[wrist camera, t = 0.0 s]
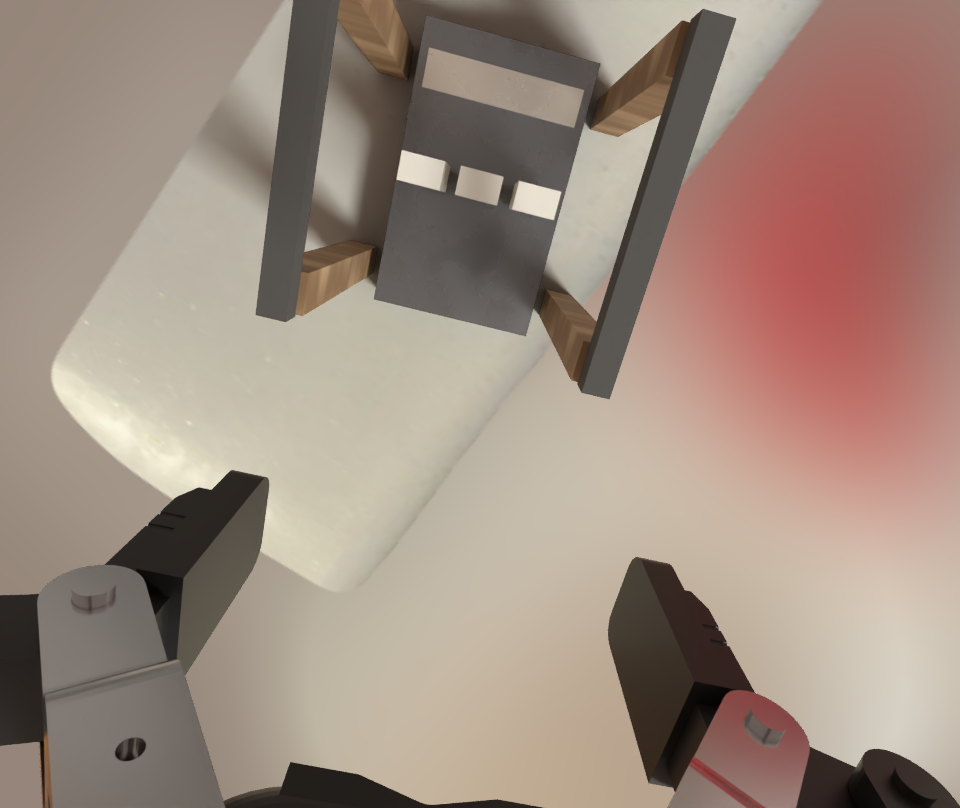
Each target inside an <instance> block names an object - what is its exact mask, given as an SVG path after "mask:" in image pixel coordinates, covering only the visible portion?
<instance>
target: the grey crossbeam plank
mask: <svg viewBox="0 0 960 808" xmlns="http://www.w3.org/2000/svg"><path fill="white" fill-rule="evenodd" d="M339 3H340V0H293V7H292V16H291V24H290V32H289V41H288V49H287V57H286V66H285V74H284V82H283V91H282V99H281V107H280V116H279V124H278V132H277V141H276V149H275V158H274V166H273V174H272V183H271V191H270V199H269V208H268V216H267V224H266V233H265V241H264V249H263V258H262V266H261V274H260V283H259V291H258V299H257V308H256V315H258V316H262V317H266V318H271V319H275V320H279V321H283V322H287V321H288V320H290V319H292V318H293V317H295V313H296V306H297V299H298V292H299V285H300V278H301V271H302V264H303V256H304V249H305V242H306V235H307V228H308V221H309V214H310V207H311V200H312V193H313V186H314V179H315V172H316V165H317V158H318V151H319V144H320V137H321V130H322V123H323V116H324V109H325V102H326V95H327V88H328V81H329V74H330V66H331V59H332V52H333V45H334V38H335V31H336V24H337V17H338V10H339Z"/></svg>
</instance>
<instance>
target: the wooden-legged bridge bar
mask: <svg viewBox="0 0 960 808" xmlns="http://www.w3.org/2000/svg"><path fill="white" fill-rule="evenodd" d="M735 21H736V18H733V17H729V16H726V15H722V14H719V13H716V12H712V11H709V10H705V9H702V10H701V11H700V12H699V13H698V14H697V15H696V16H695V17H693V18H692V19H691V22H690V25H689V28H688V31H687V34H686V38H685V41H684V44H683V47H682V50H681V54H680V57H679V60H678V63H677V66H676V70H675V73H674V76H673V79H672V82H671V86H670V89H669V92H668V95H667V98H666V102H665V105H664V108H663V111H662V114H661V118H660V121H659V124H658V127H657V130H656V134H655V137H654V140H653V143H652V147H651V150H650V153H649V156H648V159H647V163H646V166H645V169H644V172H643V175H642V179H641V182H640V185H639V188H638V191H637V195H636V198H635V201H634V204H633V207H632V211H631V214H630V217H629V220H628V223H627V227H626V230H625V233H624V236H623V239H622V243H621V246H620V249H619V252H618V255H617V259H616V262H615V265H614V268H613V272H612V275H611V278H610V281H609V285H608V288H607V291H606V294H605V297H604V300H603V304H602V307H601V310H600V313H599V316H598V320H597V323H596V326H595V329H594V332H593V336H592V339H591V342H590V345H589V348H588V352H587V355H586V358H585V361H584V364H583V368H582V371H581V374H580V377H579V380H578V386H579V388H580V390H581V392H582V393H585V394H590V395H594V396H598V397H602V398H607V399H610V396H611V393H612V390H613V387H614V384H615V381H616V378H617V375H618V372H619V369H620V366H621V363H622V360H623V357H624V354H625V351H626V348H627V345H628V342H629V339H630V336H631V333H632V330H633V327H634V324H635V321H636V318H637V315H638V312H639V309H640V306H641V303H642V300H643V297H644V294H645V291H646V288H647V285H648V282H649V279H650V276H651V273H652V270H653V267H654V264H655V261H656V258H657V255H658V252H659V249H660V246H661V243H662V240H663V237H664V234H665V231H666V228H667V225H668V222H669V219H670V216H671V213H672V210H673V207H674V204H675V201H676V198H677V195H678V192H679V189H680V186H681V183H682V180H683V177H684V174H685V171H686V168H687V165H688V162H689V159H690V156H691V153H692V150H693V147H694V144H695V141H696V138H697V135H698V132H699V129H700V126H701V123H702V120H703V117H704V114H705V111H706V108H707V105H708V102H709V99H710V96H711V93H712V90H713V87H714V84H715V81H716V78H717V75H718V72H719V69H720V66H721V63H722V60H723V57H724V54H725V51H726V48H727V45H728V42H729V39H730V36H731V33H732V30H733V27H734V24H735Z"/></svg>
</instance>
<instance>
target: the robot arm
mask: <svg viewBox="0 0 960 808" xmlns="http://www.w3.org/2000/svg"><path fill="white" fill-rule="evenodd" d="M268 491H269V480H268V478H267V477H262V476H258V475H253V474H248V473H244V472H239V471H234V470H231V471H230V472H229V473H228V474H227V475H226V476H225V477H224V478H223V479H222V480H221V481H220V482H219V483H218V484H217V485H216V486H215V487H214V488H213V489H212V490H208V489H204V488H196V489H194V490H192V491H189V492H187V493H185V494H183V495H180V496H178V497H176V498H175V499H174V500H173V501H172V502H170V504H168V505H167V506H166V507H165V508H164V509H163V510H162V511H161V513H160V515H159V514H158V515H157V516H156V517H155V518H154V519H152V520H151V522H149V524H148V526H145V527H144V528H143V529H142V530H141V531H140V532H139V533H138V534H137V535H136V536H134V538H132V540H130V541H129V542H128V543H127V544H126V545H125V546H124V547H123V548H122V549H121V550H120V551H119V552H118V553H117V554H115V555H114V556H113V557H112V558H111V559H110V560H109V561H108V562H107V563H106V564H105V565H95V566H87V567H82V568H78V569H75V570H72V571H69V572H67V573H65V574H62V575H60V576H58V577H57V578H55V579H53V580H52V581H51V582H49V583H48V584H47V585H46V586H45V587H44V588H43V589H42V591H41V592H40V594H30V595H0V746H2V745H11V744H21V743H30V742H39V756H40V775H41V794H42V808H542V807H536V806H530V805H525V804H519V803H514V802H508V801H502V800H486V801H475V802H463V803H452V804H440V805H427V804H423V803H420V802H418V801H416V800H413V799H411V798H409V797H407V796H404V795H402V794H400V793H398V792H396V791H394V790H391V789H389V788H387V787H385V786H383V785H381V784H378V783H376V782H374V781H372V780H369V779H367V778H365V777H363V776H361V775H358V774H353V773H347V772H342V771H336V770H330V769H325V768H320V767H314V766H308V765H303V764H297V763H292V762H290V765H289V768H288V770H287V773H286V776H285V779H284V782H283V785H282V787H272V788H265V789H260V790H255V791H250V792H247V793H244V794H241V795H238V796H235V797H232V798H230V799H227V800H225V801H223V798H222V795H221V792H220V788H219V785H218V782H217V779H216V775H215V772H214V769H213V765H212V762H211V759H210V756H209V752H208V749H207V746H206V743H205V740H204V736H203V733H202V730H201V726H200V723H199V720H198V717H197V713H196V710H195V707H194V704H193V700H192V697H191V694H190V690H189V687H188V684H187V681H186V678H185V675H186V673H187V672H188V670H189V668H190V667H191V665H192V664H193V662H194V661H195V659H196V657H197V656H198V654H199V653H200V651H201V649H202V648H203V646H204V645H205V643H206V642H207V640H208V639H209V637H210V635H211V634H212V632H213V631H214V629H215V628H216V626H217V624H218V623H219V621H220V620H221V618H222V617H223V615H224V613H225V612H226V610H227V609H228V607H229V606H230V604H231V603H232V601H233V599H234V598H235V596H236V595H237V593H238V592H239V590H240V589H241V587H242V585H243V584H244V582H245V581H246V579H247V578H248V576H249V574H250V573H251V571H252V569H253V567H254V565H255V563H256V560H257V557H258V554H259V551H260V548H261V543H262V537H263V529H264V522H265V514H266V507H267V499H268ZM608 637H609V638H608V639H609V645H610V649H611V652H612V655H613V659H614V663H615V666H616V670H617V673H618V677H619V680H620V684H621V687H622V691H623V695H624V698H625V702H626V705H627V709H628V712H629V716H630V719H631V722H632V726H633V730H634V733H635V737H636V740H637V744H638V747H639V751H640V754H641V758H642V762H643V765H644V769H645V772H646V776H647V779H648V782H649V783H651V784H656V785H662V786H667V787H672V788H674V791H675V794H674V796H673V798H672V800H671V801H670V804H669V805H668V808H960V806H959V804H958V803H957V802H956V800H955V799H954V798H953V797H952V795H951V794H950V793H949V792H948V791H947V790H946V789H945V788H944V787H943V785H942V784H940V783H939V782H938V781H937V780H936V779H935V778H934V777H932V776H931V775H930V774H929V773H928V772H926V771H925V770H924V769H922V768H921V767H919V766H918V765H916V764H915V763H913V762H911V761H910V760H908V759H906V758H904V757H902V756H900V755H898V754H895V753H893V752H890V751H887V750H881V749H872V750H868V751H867V752H865V754H864V755H863V757H862V758H861V760H860V762H859V763H858V765H857V767H853V766H851V765H849V764H847V763H844V762H842V761H840V760H838V759H836V758H833V757H831V756H829V755H827V754H824V753H822V752H820V751H818V750H815V749H813V748H811V747H810V745H809V741H808V738H807V736H806V734H805V732H804V730H803V729H802V728H801V726H800V725H799V724H798V722H796V720H795V719H794V718H793V717H792V716H791V715H790V714H789V713H788V712H787V711H785V710H784V709H783V708H782V707H780V706H779V705H777V704H776V703H774V702H773V701H771V700H769V699H767V698H766V697H763V696H761V695H759V694H756V693H755V692H754V690H753V689H752V687H751V685H750V683H749V681H748V680H747V678H746V676H745V674H744V672H743V670H742V669H741V667H740V665H739V663H738V661H737V660H736V658H735V656H734V654H733V652H732V651H731V649H730V647H729V646H727V642H726V640H725V638H724V636H723V634H722V633H721V631H719V630H718V625H717V624H716V622H715V620H714V618H713V616H712V614H711V613H710V611H709V609H708V608H707V607H706V606H705V605H704V604H703V603H702V602H701V601H700V600H699V599H698V598H697V597H696V596H695V595H694V594H693V593H692V592H690V591H685V590H684V588H683V586H682V584H681V582H680V581H679V579H678V577H677V575H676V573H675V571H674V569H673V567H672V566H671V565H670V564H667V563H663V562H657V561H653V560H648V559H644V558H639V557H636V558H634V559H633V560H632V561H631V563H630V565H629V567H628V570H627V573H626V575H625V578H624V581H623V584H622V586H621V589H620V592H619V594H618V597H617V599H616V602H615V605H614V608H613V610H612V613H611V616H610V621H609V628H608Z"/></svg>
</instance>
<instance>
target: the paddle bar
mask: <svg viewBox="0 0 960 808" xmlns="http://www.w3.org/2000/svg"><path fill="white" fill-rule="evenodd" d="M450 168H451V167H450V166H449V165H448V164H447V163H446V162H445V161H442V160H438V159H434V158H431V157H427V156H423V155H419V154H415V153H411V152H408V151H404V150H402V152H401V157H400V163H399V168H398V174H397V180H400V181H403V182H407V183H410V184H414V185H418V186H422V187H426V188H430V189H434V190H438V191H441V192H446V189H448V190H452V191H455V195H457V196H461V197H465V198H468V199H472V200H476V201H480V202H484V203H488V204H492V205H497V203H502V204H506V205H509V209H511V210H515V211H519V212H523V213H526V214H530V215H534V216H538V217H542V218H546V219H551V220H554V217H555V214H556V210H557V206H558V203H559V199H560V195H561V192H560V191H556V190H552V189H549V188H545V187H541V186H537V185H533V184H530V183H526V182H522V181H518V182H517V183H515V185H514V188H512V187H508V186H505V185H502V182H503V178H504V177H503V176H499V175H495V174H491V173H488V172H484V171H480V170H476V169H472V168H469V167H465V166H461V168H460V172H459V173H455V172H451V171H450Z"/></svg>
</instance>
